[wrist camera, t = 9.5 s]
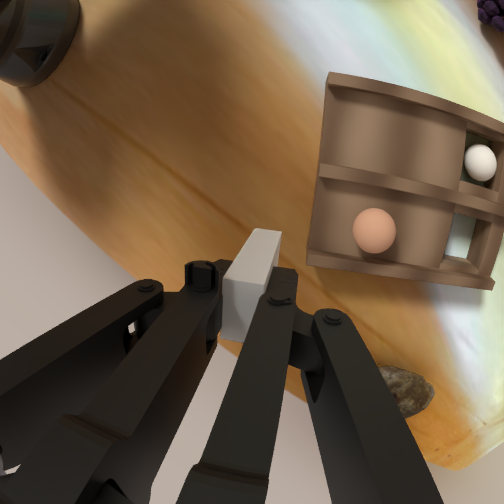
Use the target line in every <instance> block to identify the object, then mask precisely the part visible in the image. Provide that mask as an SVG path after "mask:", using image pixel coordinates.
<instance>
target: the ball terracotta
mask: <svg viewBox="0 0 504 504" xmlns="http://www.w3.org/2000/svg"><path fill="white" fill-rule="evenodd" d="M352 232H353V237H354V240H355V242H356V244H357V245H358V246H359V247H360V248H361V249H362V250H364V251H366V252H368V253H381V252H383V251H385V250H387V249H388V248H389V247H390V246H391V245H392V243H393V242H394V239H395V236H396V226H395V223H394V220H393V219H392V217H391V216H390V215H389V214H388V213H387V212H385V211H384V210H382V209H378V208H369V209H366V210H364V211H362V212H361V213H360V214H359V215H358V216H357V217H356V219H355V221H354V223H353V229H352Z"/></svg>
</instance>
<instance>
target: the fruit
mask: <svg viewBox="0 0 504 504" xmlns="http://www.w3.org/2000/svg"><path fill="white" fill-rule="evenodd" d="M477 7H478V8H480V9H478V19H479V20H480V21H481V22H482V23H484V24H487V25H492V26H493V27H494V28H495V29H496V31H499V32H504V0H477Z"/></svg>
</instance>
